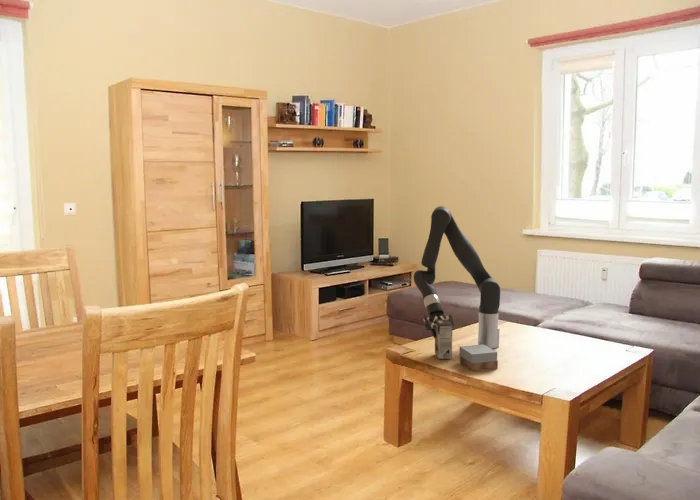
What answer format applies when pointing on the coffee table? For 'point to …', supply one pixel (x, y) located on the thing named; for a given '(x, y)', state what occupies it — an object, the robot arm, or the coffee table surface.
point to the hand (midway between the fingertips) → (443, 336)
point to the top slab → (478, 353)
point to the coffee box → (443, 339)
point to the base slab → (479, 365)
